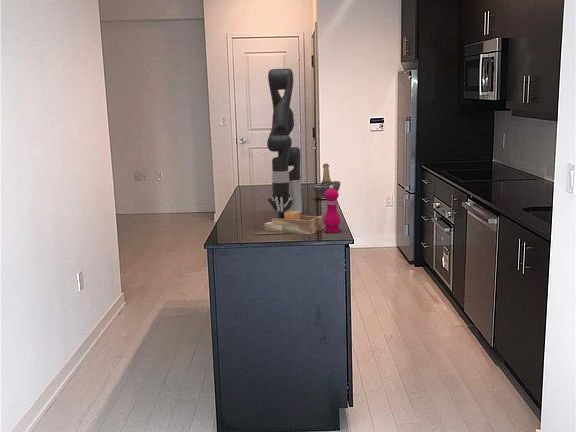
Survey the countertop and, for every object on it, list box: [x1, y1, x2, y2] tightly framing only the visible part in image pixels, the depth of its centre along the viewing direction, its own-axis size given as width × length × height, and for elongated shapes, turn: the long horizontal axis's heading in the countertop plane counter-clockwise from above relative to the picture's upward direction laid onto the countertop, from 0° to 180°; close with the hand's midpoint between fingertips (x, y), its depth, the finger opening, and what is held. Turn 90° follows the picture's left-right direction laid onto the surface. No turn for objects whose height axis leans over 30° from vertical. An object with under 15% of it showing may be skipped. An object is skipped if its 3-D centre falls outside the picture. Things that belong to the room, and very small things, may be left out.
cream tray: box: [263, 214, 324, 235], centre depth 269 cm, size 11×23×6 cm, turn 61°
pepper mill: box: [323, 185, 341, 234], centre depth 262 cm, size 7×7×20 cm
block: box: [284, 211, 301, 220], centre depth 269 cm, size 5×5×5 cm
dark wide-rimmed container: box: [313, 163, 341, 199], centre depth 347 cm, size 15×17×20 cm
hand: (281, 219), depth 272 cm, fingers closed
